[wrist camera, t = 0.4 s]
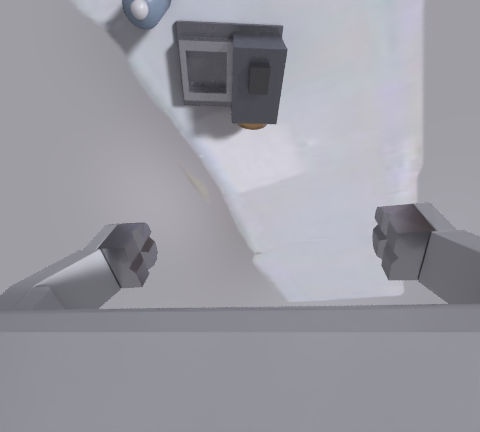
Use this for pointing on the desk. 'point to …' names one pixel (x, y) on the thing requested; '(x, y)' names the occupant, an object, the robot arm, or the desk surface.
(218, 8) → the desk surface
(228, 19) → the desk surface
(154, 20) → the bottle
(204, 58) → the gray recessed holder
